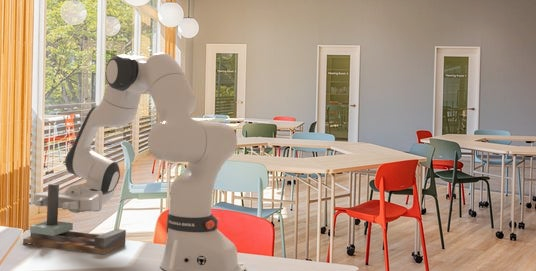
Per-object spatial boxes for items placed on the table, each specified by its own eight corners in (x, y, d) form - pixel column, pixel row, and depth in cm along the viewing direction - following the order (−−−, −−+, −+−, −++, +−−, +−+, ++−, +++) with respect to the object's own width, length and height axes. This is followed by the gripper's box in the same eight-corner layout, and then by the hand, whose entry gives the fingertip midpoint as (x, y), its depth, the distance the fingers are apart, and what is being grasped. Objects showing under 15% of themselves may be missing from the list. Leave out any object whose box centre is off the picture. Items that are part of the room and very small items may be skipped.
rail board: (125, 244, 162) (125, 229, 162) (103, 254, 150) (104, 238, 150) (49, 235, 168) (50, 220, 168) (23, 243, 157) (23, 228, 156)
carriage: (72, 229, 164) (74, 183, 164) (54, 235, 156) (56, 187, 155) (49, 226, 166) (51, 181, 166) (30, 232, 158) (31, 185, 157)
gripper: (50, 185, 176) (21, 191, 162) (106, 191, 171) (81, 197, 157) (49, 205, 176) (20, 212, 163) (106, 211, 171) (80, 219, 158)
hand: (51, 205), depth 160 cm, fingers open, 8 cm apart
